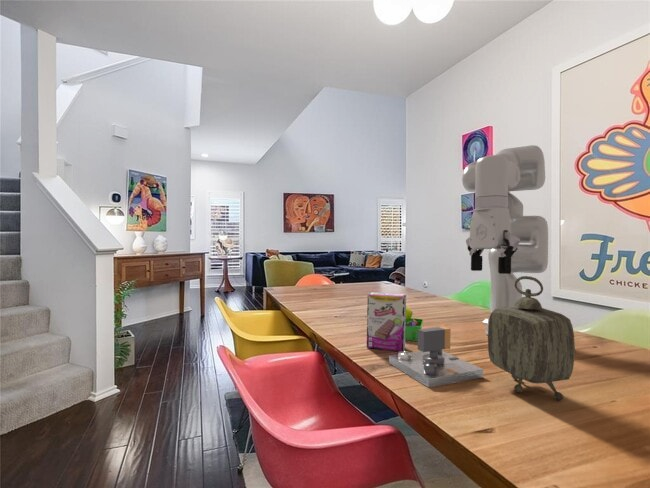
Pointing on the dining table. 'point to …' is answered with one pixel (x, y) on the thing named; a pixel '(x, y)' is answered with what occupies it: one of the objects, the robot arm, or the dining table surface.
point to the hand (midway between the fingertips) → (489, 272)
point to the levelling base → (441, 369)
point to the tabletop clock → (531, 341)
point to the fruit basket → (412, 326)
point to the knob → (433, 343)
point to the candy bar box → (386, 321)
